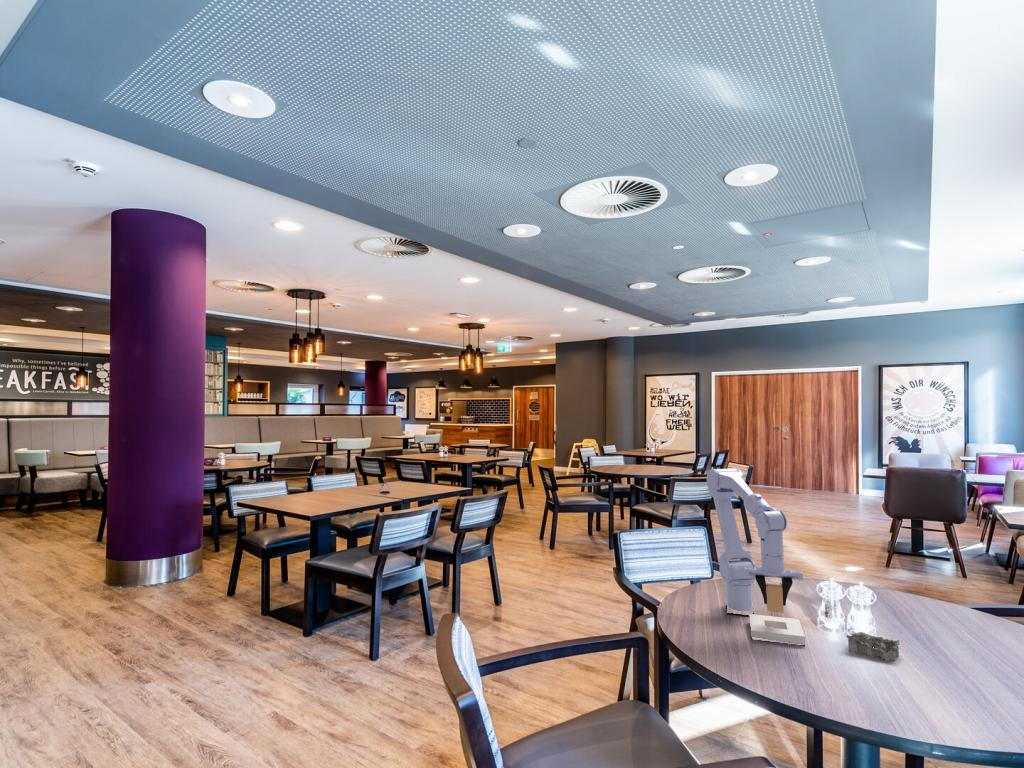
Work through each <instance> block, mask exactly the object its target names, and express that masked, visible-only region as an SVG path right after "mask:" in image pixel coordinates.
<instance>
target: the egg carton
mask: <svg viewBox="0 0 1024 768" xmlns="http://www.w3.org/2000/svg"><path fill="white" fill-rule="evenodd" d="M846 638H847V644H848V645H847V646H848V650H849V649H850V650H849V651H851V652H852V653H855V654H859V653H860V654H865V655H867V657H871V656H874V657H876V656H880V657H882V658H883V659H885V660H884V661H886V660H890V661H891V660H897V656H898V657H899V656H900V650H899V649H900V648H899V646H900V640H893V639H888V638H885V639H884V638H883V636H879V637H878V636H875V635H870V634H868V633H866V632H862V631H858V632H855V633H852V634H851V635H848V634H847V635H846ZM873 647H875V648H873ZM886 651H889V652H886ZM880 657H879V658H880ZM882 658H881V659H882ZM883 659H882V660H883Z"/></svg>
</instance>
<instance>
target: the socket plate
mask: <svg viewBox="0 0 1024 768" xmlns="http://www.w3.org/2000/svg"><path fill="white" fill-rule="evenodd" d="M748 617H749V626H750V627H751V629H750V637H756V638H763V639H768V640H776V641H782V642H788V643H794V644H801V645H805V646H806V636H805V632H804V630H803V626H802V624H801V621H800V619H799V618H792V617H783V616H781V617H780V616H770V615H761V614H755V613H754V614H749V616H748ZM765 626H767V627H765ZM750 627H749V628H750ZM769 627H774V628H769ZM778 628H781V629H778Z"/></svg>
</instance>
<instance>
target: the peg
mask: <svg viewBox="0 0 1024 768" xmlns="http://www.w3.org/2000/svg"><path fill="white" fill-rule="evenodd" d="M766 597H767V604H766V611H767V612H770V613H780V614H784V613H785V612H784V610H785V609H784V606H783V591H782V582H774V581H773V582H772V581H766Z"/></svg>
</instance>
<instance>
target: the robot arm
mask: <svg viewBox="0 0 1024 768" xmlns="http://www.w3.org/2000/svg"><path fill="white" fill-rule="evenodd" d="M744 477H745V476H744V473H743V471H741V469H740V468H738V467H733V468H710V469H709V470H708V472H707V475H706V483H707V489H708V492H709V495H710V496H711V497H712V498H713V502H714V506H715V511H716V515H717V519H718V523H719V528H720V533H721V536H722V541H723V546H724V549H725V550H724V551H723V553H722V554H721V555H720V556H719V558H718V561H719V562H718V563H719V575H720V577H721V578H722V580H723V581H724V582H725V584H726V603H727V606H728V607H729V608H731V609H733V610H737V611H751V610H752V605H753V597H752V596H753V594H752V584H754V581H756V583H757V585H758V587H759V589H760V591H761V595H762V598H763V603H764V604H765V605H767V597H766V582H767V581H766V578H777V579H778V578H779V579H780V580H781V584H782V591H783V607H784V606H785V607H786V606H787V604H786V603H787V598H788V596H789V592H790V590H791V587H792V586H793V580H799V581H803V579H804V575H803V573H804V572H802V570H801V571H800V570H793V569H787V568H786V569H785V557H784V555H785V554H784V538H783V536H784V535H783V532H784V531H785V530H786V529H787V526H788V521H787V517H786V515H785V513H784V512H783V511H782V510H781V509H776V508H773V507H772V506H771V505H770V504H769V503H768V502H767V500H765V498H763V496H762V495H761V493H760V494H759V493H754V492H753V491H752V490H751V488H750V487H749V486H748V484H747V483H746V481H745V478H744ZM735 495H737V496H738V497H740V499H742V501H743V507H744V509H746V510H747V511H748V513H749V514H750V515H751V516H752V518H753V519H754V522H755V523H754V524H755V526H756V529H757V535H758V537H759V538H760V557H761V558H760V559H761V567H760V566H759V567H758V566H757V565H756V563H755V562H754V559H753V557H752V554H751V553H750V552H748V551H746V550H745V549H744V548H743V545H742V541H741V536H740V533H739V528H738V525H737V520H736V517H735V512H734V509H733V508H734V507H733V503H732V501H731V499H732V497H733V496H735Z"/></svg>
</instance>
